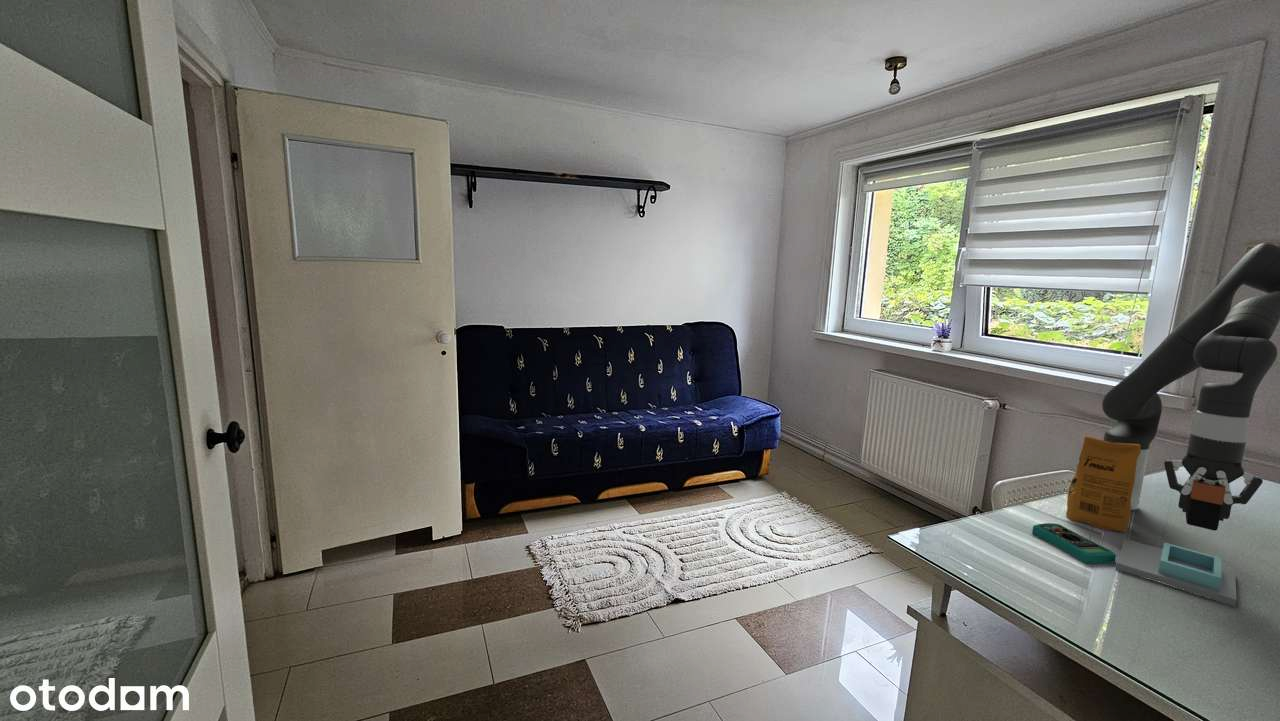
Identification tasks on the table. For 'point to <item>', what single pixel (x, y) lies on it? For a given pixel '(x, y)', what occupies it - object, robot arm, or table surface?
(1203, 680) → the table surface
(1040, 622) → the table surface
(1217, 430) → the robot arm
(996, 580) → the table surface
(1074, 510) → the coffee package
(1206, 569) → the plate
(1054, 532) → the digital multimeter
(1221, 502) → the battery
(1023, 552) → the table surface
